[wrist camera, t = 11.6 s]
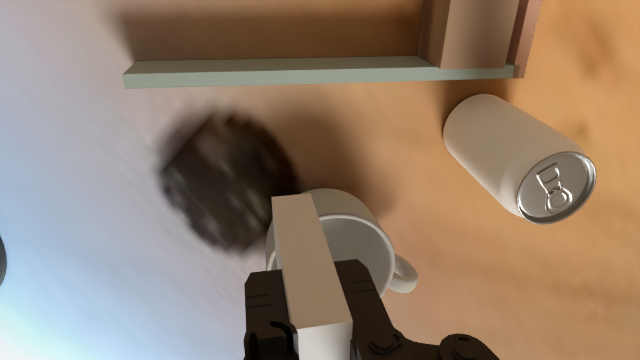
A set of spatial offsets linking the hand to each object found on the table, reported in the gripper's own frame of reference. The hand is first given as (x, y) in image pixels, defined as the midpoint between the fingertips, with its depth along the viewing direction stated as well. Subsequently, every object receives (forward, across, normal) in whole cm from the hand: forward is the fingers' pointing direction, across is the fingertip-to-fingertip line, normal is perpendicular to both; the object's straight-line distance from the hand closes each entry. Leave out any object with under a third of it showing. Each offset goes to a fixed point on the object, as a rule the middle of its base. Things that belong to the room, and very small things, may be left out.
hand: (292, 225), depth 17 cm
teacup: (+21, -6, +15) cm, 26 cm away
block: (+20, -16, -4) cm, 26 cm away
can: (+20, -19, +5) cm, 28 cm away
